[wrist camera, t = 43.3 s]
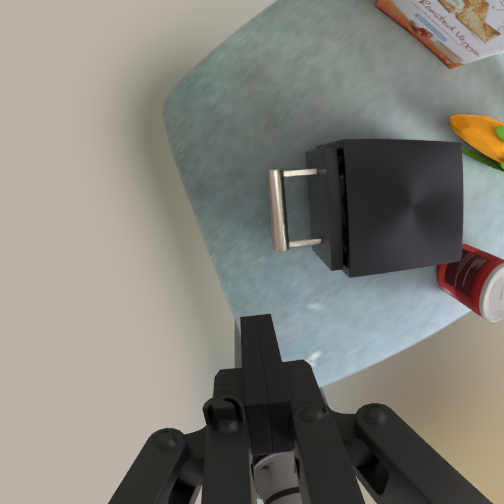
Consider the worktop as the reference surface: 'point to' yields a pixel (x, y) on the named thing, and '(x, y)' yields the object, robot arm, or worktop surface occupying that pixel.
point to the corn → (481, 137)
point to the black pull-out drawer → (313, 207)
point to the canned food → (476, 282)
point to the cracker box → (452, 26)
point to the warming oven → (401, 204)
